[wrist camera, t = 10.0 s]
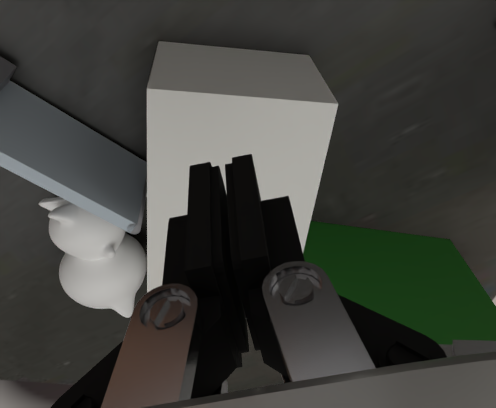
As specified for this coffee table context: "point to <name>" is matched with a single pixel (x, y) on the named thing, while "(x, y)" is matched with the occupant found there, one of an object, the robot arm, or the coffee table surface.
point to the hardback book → (404, 280)
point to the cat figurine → (95, 258)
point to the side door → (69, 157)
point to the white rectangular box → (232, 129)
